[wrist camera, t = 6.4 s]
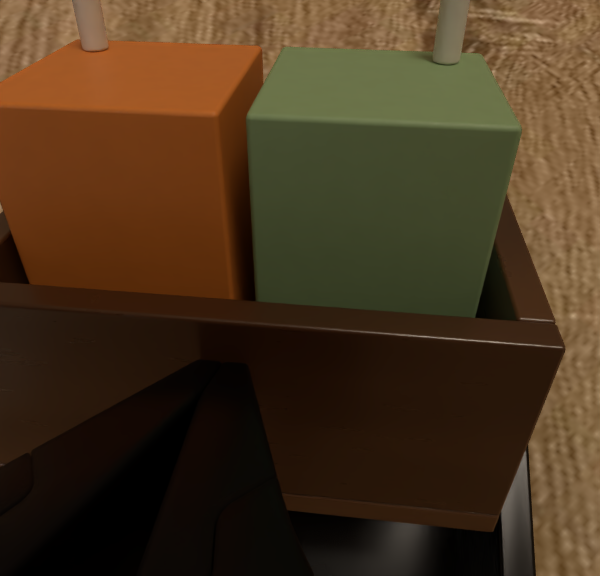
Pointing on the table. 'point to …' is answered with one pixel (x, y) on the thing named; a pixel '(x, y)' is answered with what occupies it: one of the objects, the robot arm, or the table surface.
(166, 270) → the orange carton
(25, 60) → the table surface
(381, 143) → the green carton
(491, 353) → the bin
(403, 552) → the bin frame
